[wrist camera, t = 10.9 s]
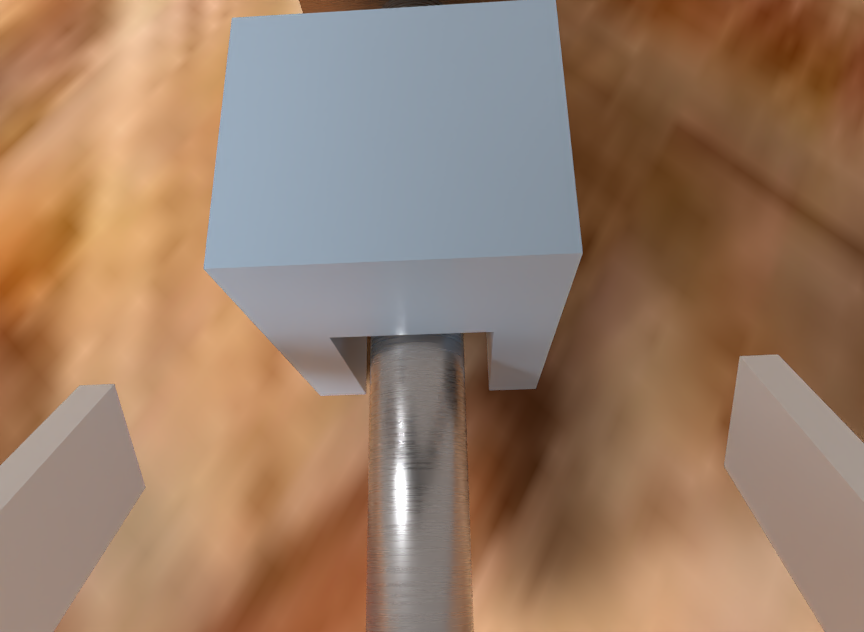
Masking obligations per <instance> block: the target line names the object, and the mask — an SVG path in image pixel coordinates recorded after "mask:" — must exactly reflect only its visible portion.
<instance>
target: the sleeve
mask: <svg viewBox="0 0 864 632" xmlns="http://www.w3.org/2000/svg"><path fill="white" fill-rule="evenodd" d="M582 254H583V251H582V241H581V232H580V223H579V213H578V204H577V194H576V185H575V176H574V166H573V157H572V148H571V138H570V129H569V119H568V110H567V101H566V91H565V82H564V72H563V63H562V54H561V44H560V35H559V26H558V16H557V7H556V0H516V1H500V2H483V3H467V4H451V5H434V6H418V7H402V8H386V9H369V10H353V11H337V12H320V13H304V14H288V15H271V16H255V17H239V18H232V23H231V31H230V40H229V49H228V58H227V67H226V75H225V84H224V93H223V102H222V111H221V120H220V128H219V137H218V146H217V155H216V164H215V172H214V181H213V190H212V199H211V208H210V217H209V225H208V234H207V243H206V252H205V261H204V270H205V271H206V272H207V273H208V274H209V275H210V276H211V277H212V279H213V280H214V281H215V282H216V283H217V284H218V285H219V286H220V287H221V288H222V289H223V290H224V292H225V293H226V294H227V295H228V296H229V297H230V298H231V299H232V300H233V301H234V302H235V303H236V305H237V306H238V307H239V308H240V309H241V310H242V311H243V312H244V313H245V314H246V315H247V316H248V318H249V319H250V320H251V321H252V322H253V323H254V324H255V325H256V326H257V327H258V328H259V330H260V331H261V332H262V333H263V334H264V335H265V336H266V337H267V338H268V339H269V340H270V341H271V343H272V344H273V345H274V346H275V347H276V348H277V349H278V350H279V351H280V352H281V353H282V354H283V356H284V357H285V358H286V359H287V360H288V361H289V362H290V363H291V364H292V365H293V366H294V367H295V369H296V370H297V371H298V372H299V373H300V374H301V375H302V376H303V377H304V378H305V379H306V380H307V382H308V383H309V384H310V385H311V386H312V387H313V388H314V389H315V390H316V391H317V392H318V393H319V395H320V396H326V395H358V394H366V370H367V336H390V335H418V334H445V333H473V332H486V337H487V358H488V379H489V390H517V389H536V387H537V384H538V381H539V378H540V375H541V372H542V370H543V367H544V364H545V361H546V358H547V355H548V352H549V349H550V346H551V343H552V341H553V338H554V335H555V332H556V329H557V326H558V323H559V320H560V317H561V315H562V312H563V309H564V306H565V303H566V300H567V297H568V294H569V291H570V289H571V286H572V283H573V280H574V277H575V274H576V271H577V268H578V265H579V262H580V260H581V257H582Z"/></svg>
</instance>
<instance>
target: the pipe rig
mask: <svg viewBox="0 0 864 632" xmlns="http://www.w3.org/2000/svg"><path fill="white" fill-rule="evenodd" d="M299 1H300V5H301V8H302V11H303V14H304V13H320V12H337V11H353V10H369V9H386V8H402V7H418V6H434V5H451V4H467V3H483V2H500V1H516V0H299ZM366 632H474V628H473V599H472V571H471V543H470V514H469V486H468V458H467V429H466V401H465V372H464V344H463V333H445V334H418V335H390V336H371V352H370V414H369V475H368V537H367V599H366Z"/></svg>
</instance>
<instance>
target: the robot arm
mask: <svg viewBox="0 0 864 632" xmlns="http://www.w3.org/2000/svg"><path fill="white" fill-rule="evenodd" d="M724 467H725V469H726V470H727V472H728V474H729V475H730V477H731V479H732V480H733V482H734V483H735V485H736V487H737V488H738V490H739V492H740V493H741V495H742V497H743V498H744V500H745V502H746V503H747V505H748V506H749V508H750V510H751V511H752V513H753V515H754V516H755V518H756V520H757V521H758V523H759V525H760V526H761V528H762V529H763V531H764V533H765V534H766V536H767V538H768V539H769V541H770V543H771V544H772V546H773V548H774V549H775V551H776V553H777V554H778V556H779V557H780V559H781V561H782V562H783V564H784V566H785V567H786V569H787V571H788V572H789V574H790V576H791V577H792V579H793V580H794V582H795V584H796V585H797V587H798V589H799V590H800V592H801V594H802V595H803V597H804V599H805V600H806V602H807V603H808V605H809V607H810V608H811V610H812V612H813V613H814V615H815V617H816V618H817V620H818V622H819V623H820V625H821V626H822V628H823V630H824V631H825V632H864V443H863V442H862V441H861V440H860V439H859V438H858V437H857V436H856V435H855V434H854V433H853V432H852V431H851V430H850V429H849V427H848V426H847V425H846V424H845V423H844V422H843V421H842V420H841V419H840V418H839V417H838V416H837V415H836V414H835V413H834V412H833V411H832V410H831V409H830V408H829V407H828V406H827V405H826V404H825V403H824V402H823V401H822V400H821V398H820V397H819V396H818V395H817V394H816V393H815V392H814V391H813V390H812V389H811V388H810V387H809V386H808V385H807V384H806V383H805V382H804V381H803V380H802V379H801V378H800V377H799V376H798V375H797V374H796V373H795V372H794V371H793V369H792V368H791V367H790V366H789V365H788V364H787V363H786V362H785V361H784V360H783V359H782V358H781V357H780V356H779V355H778V354H777V355H754V356H740V358H739V365H738V372H737V379H736V386H735V392H734V399H733V406H732V413H731V420H730V427H729V434H728V441H727V448H726V455H725V462H724ZM144 489H145V484H144V481H143V478H142V474H141V471H140V468H139V464H138V461H137V458H136V454H135V451H134V448H133V444H132V441H131V438H130V434H129V431H128V428H127V424H126V421H125V418H124V414H123V411H122V408H121V404H120V401H119V398H118V394H117V391H116V388H115V384H104V385H81V386H79V387H78V388H77V389H76V390H75V391H74V392H73V393H72V394H71V395H70V396H69V397H68V398H67V399H66V400H65V401H64V402H63V403H62V404H61V405H60V406H59V407H58V408H57V409H56V410H55V411H54V412H53V413H52V414H51V415H50V416H49V417H48V418H47V419H46V420H45V421H44V422H43V423H42V424H41V425H40V426H39V427H38V428H37V429H36V430H35V431H34V432H33V433H32V434H31V435H30V436H29V437H28V438H27V439H26V440H25V441H24V442H23V443H22V444H21V445H20V446H19V447H18V448H17V449H16V450H15V451H14V452H13V453H12V454H11V455H10V456H9V457H8V458H7V459H6V460H5V461H4V462H3V463H2V464H1V465H0V632H53V631H54V630H55V628H56V627H57V625H58V624H59V622H60V620H61V619H62V617H63V616H64V614H65V613H66V611H67V610H68V608H69V606H70V605H71V603H72V602H73V600H74V599H75V597H76V595H77V594H78V592H79V591H80V589H81V588H82V586H83V584H84V583H85V581H86V580H87V578H88V577H89V575H90V573H91V572H92V570H93V569H94V567H95V566H96V564H97V563H98V561H99V559H100V558H101V556H102V555H103V553H104V552H105V550H106V548H107V547H108V545H109V544H110V542H111V541H112V539H113V537H114V536H115V534H116V533H117V531H118V530H119V528H120V527H121V525H122V523H123V522H124V520H125V519H126V517H127V516H128V514H129V512H130V511H131V509H132V508H133V506H134V505H135V503H136V501H137V500H138V498H139V497H140V495H141V494H142V492H143V490H144Z"/></svg>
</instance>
